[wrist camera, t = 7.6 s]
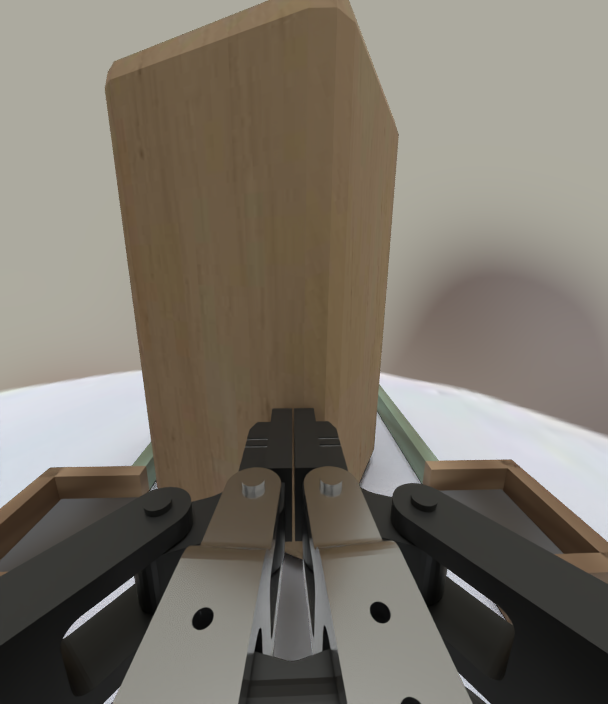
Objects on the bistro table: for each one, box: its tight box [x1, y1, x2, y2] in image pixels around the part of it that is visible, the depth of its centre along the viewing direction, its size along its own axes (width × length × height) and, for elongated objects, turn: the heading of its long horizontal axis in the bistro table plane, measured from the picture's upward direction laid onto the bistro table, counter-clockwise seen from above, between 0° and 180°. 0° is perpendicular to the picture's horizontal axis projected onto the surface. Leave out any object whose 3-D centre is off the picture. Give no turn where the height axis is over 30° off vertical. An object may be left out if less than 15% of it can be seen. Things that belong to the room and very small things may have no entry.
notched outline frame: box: [0, 385, 608, 625], centre depth 16 cm, size 26×30×2 cm
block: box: [105, 0, 399, 560], centre depth 16 cm, size 10×10×20 cm
